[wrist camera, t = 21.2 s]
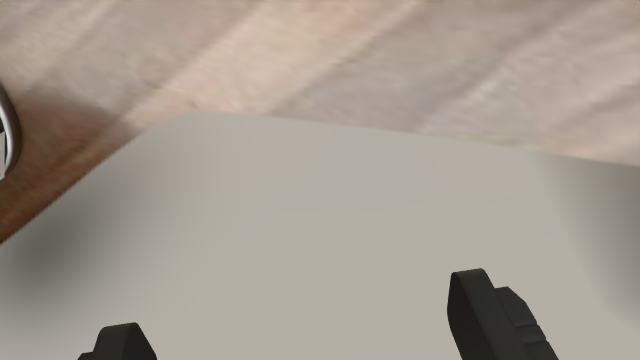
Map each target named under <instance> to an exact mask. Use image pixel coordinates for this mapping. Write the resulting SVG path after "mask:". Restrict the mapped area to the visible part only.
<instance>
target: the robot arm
mask: <svg viewBox="0 0 640 360" xmlns="http://www.w3.org/2000/svg"><path fill="white" fill-rule="evenodd" d="M20 151H21V131H20V126H19V122H18V119H17V116H16V113H15V111H14V108H13V106H12V104H11V102H10V100H9V98H8V97H7V95H6V94H5V92H4V90H3V89H2V88H1V86H0V180H1V179H3V178H4V176H6V175H7V174H8V173H9V172H10V171H11V170H12V169H13V168H14V166H15V165H16V163H17V161H18V158H19V155H20ZM447 315H448V321H449V325H450V329H451V332H452V334H453V337H454V340H455V342H456V345H457V347H458V350H459V352H460V355H461V357H462V360H559V359H558V358H557V356H556V354H555V353H554V351H553V349H552V347H551V346H550V344H549V342H547V341H546V337H545V335H544V333H543V332H542V330H541V328H540V326H538V325H537V322H536V319H535V318H534V316H533V314H532V313H531V311H530V309H529V307H528V306H527V304H526V302H525V301H524V300H522V299H521V298H520V297H519V296H518V295H517V294H516V293H514V292H513V291H512V290H511V289H510V288H509V287H501V288H494V287H493V285H492V283H491V281H490V279H489V277H488V275H487V273H486V272H485V271H484V270H483V269H481V268H479V269H473V270H467V271H460V272H453V273H452V275H451V280H450V288H449V296H448V306H447ZM78 360H157V357H156V354H155V352H154V351H153V349H152V347H151V346H150V344H149V342H148V340H147V339H146V337H145V335H144V334H143V332H142V330H141V328H140V327H139V325H138V324H137V323H127V324H121V325H114V326H107V327H104V328H102V330H101V331H100V333H99V335H98V338H97V341H96V344H95V347H94V350H93V352H88V353H82V354H81V356H80V357H79V358H78Z"/></svg>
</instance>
